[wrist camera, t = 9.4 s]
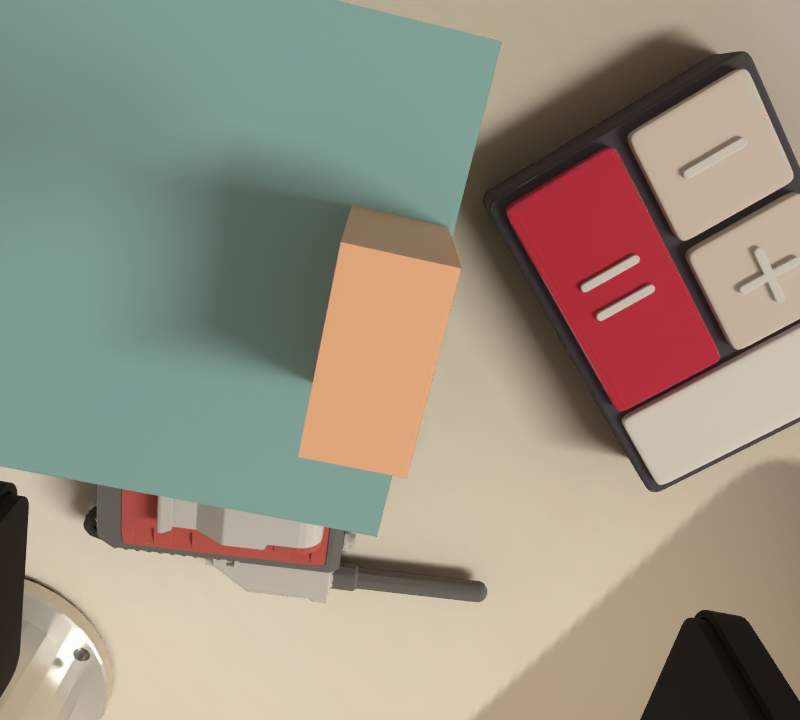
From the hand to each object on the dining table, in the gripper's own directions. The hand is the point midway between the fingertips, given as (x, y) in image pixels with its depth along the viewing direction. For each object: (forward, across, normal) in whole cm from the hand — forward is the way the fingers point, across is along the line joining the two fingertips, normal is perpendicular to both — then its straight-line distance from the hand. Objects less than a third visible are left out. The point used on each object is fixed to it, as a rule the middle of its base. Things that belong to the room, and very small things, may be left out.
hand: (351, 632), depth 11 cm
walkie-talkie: (+25, +1, +13) cm, 28 cm away
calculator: (+24, -13, -2) cm, 28 cm away
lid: (+16, +8, 0) cm, 18 cm away
